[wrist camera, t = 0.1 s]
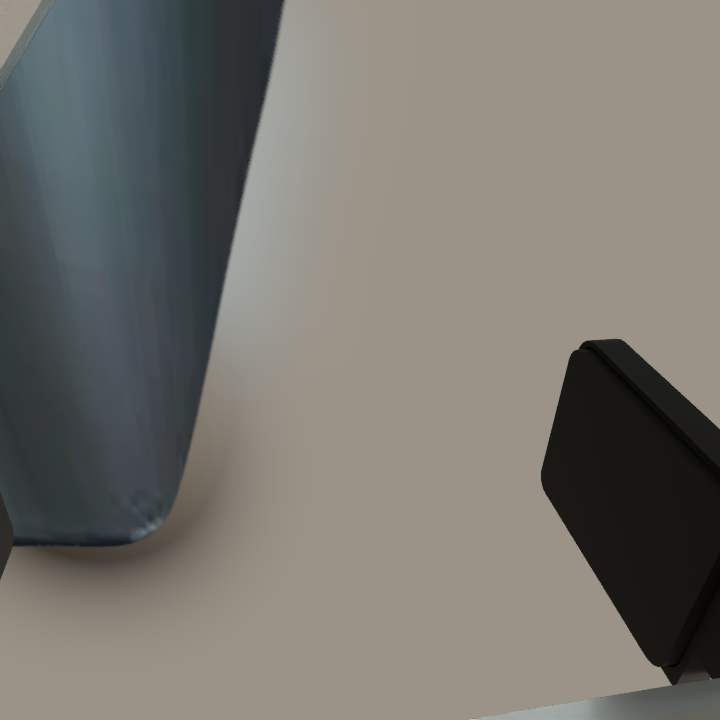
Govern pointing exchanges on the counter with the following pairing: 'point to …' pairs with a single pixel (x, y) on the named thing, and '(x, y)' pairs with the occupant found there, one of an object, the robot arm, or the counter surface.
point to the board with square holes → (18, 30)
